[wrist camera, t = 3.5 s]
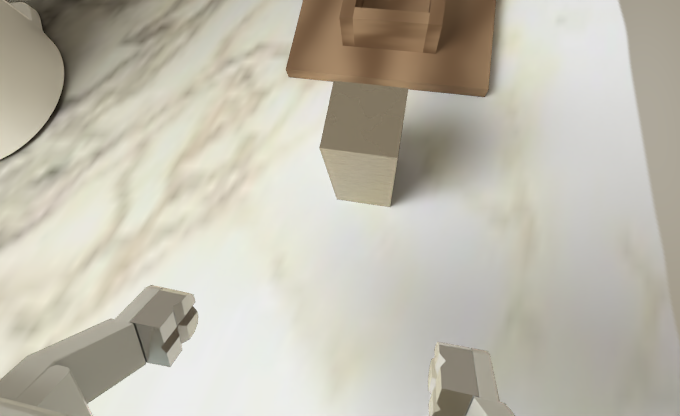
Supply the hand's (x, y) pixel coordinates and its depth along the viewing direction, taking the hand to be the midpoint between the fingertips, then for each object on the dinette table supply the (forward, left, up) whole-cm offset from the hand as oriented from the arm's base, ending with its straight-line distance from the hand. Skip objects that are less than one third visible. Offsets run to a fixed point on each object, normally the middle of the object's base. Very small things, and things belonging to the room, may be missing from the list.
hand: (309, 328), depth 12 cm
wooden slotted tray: (0, +28, -13) cm, 31 cm away
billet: (0, +10, -13) cm, 17 cm away
